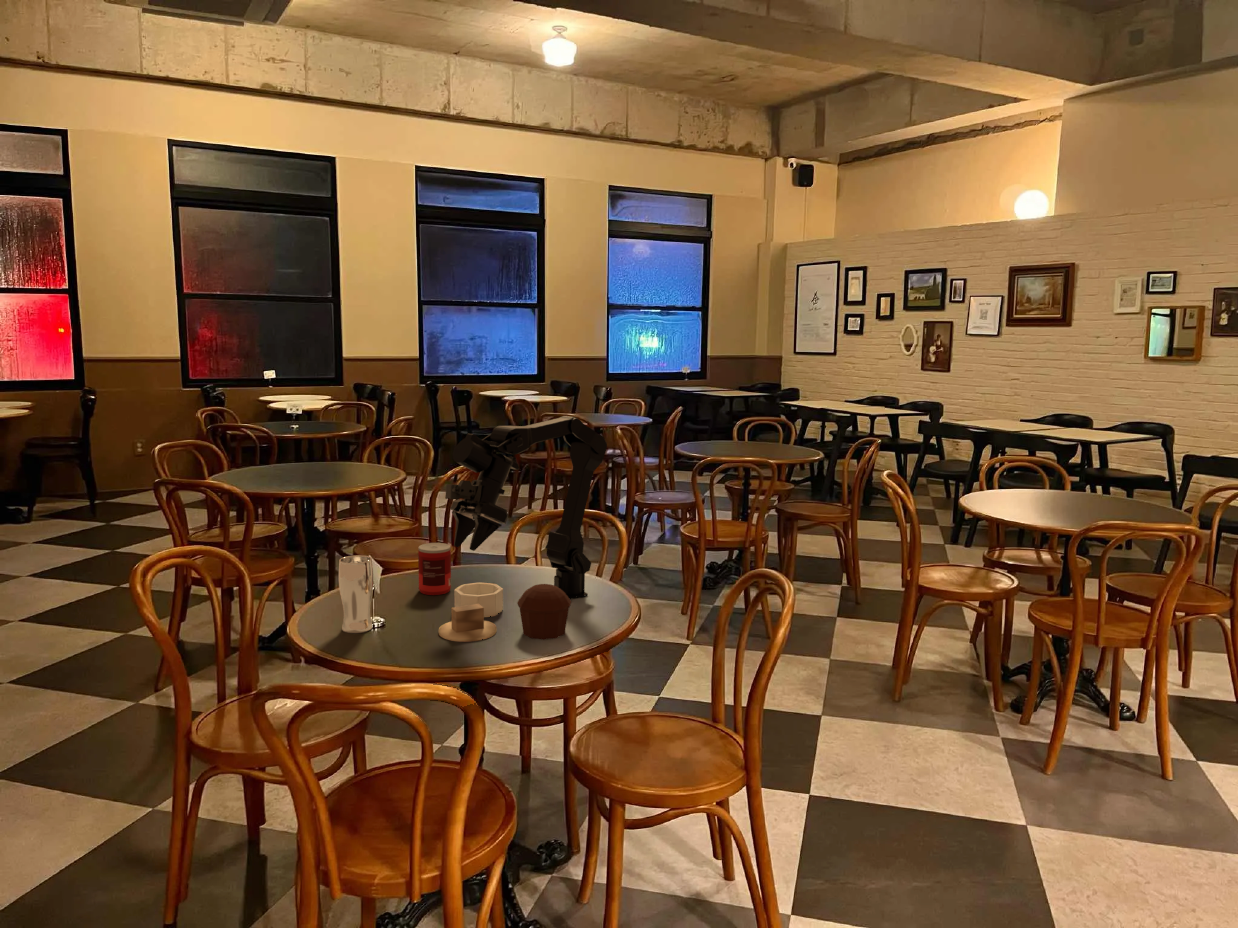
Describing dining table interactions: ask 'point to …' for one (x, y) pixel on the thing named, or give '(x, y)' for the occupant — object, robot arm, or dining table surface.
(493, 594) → the hollow octagonal cup
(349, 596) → the beer glass
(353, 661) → the dining table surface
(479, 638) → the lid
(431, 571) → the canned food
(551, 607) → the muffin
